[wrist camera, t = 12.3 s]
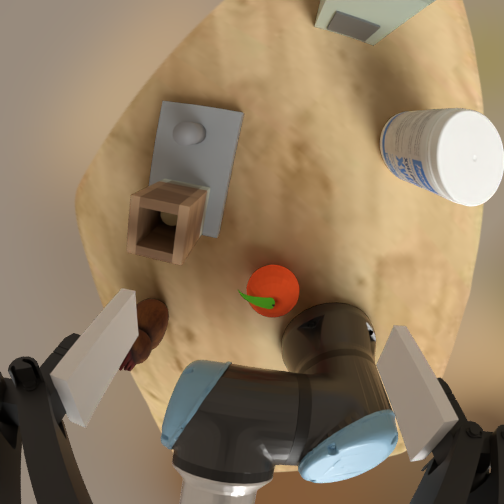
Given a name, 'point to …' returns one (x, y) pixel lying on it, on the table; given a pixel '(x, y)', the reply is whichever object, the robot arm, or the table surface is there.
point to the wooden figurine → (147, 331)
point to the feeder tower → (366, 17)
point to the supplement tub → (445, 153)
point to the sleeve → (156, 231)
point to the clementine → (272, 291)
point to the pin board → (197, 154)
